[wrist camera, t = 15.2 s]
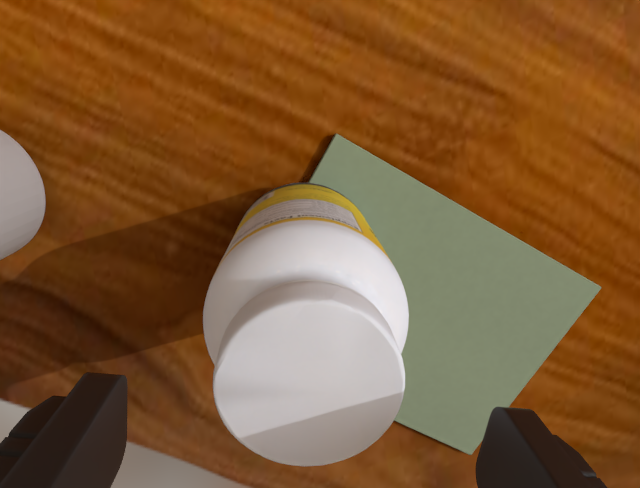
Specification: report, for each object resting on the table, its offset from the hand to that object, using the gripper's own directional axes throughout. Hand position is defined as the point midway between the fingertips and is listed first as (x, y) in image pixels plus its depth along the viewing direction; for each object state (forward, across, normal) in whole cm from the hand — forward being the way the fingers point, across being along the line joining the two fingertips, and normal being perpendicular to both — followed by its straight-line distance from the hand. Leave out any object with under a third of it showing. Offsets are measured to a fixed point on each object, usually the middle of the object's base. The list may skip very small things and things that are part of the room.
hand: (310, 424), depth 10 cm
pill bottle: (+13, 0, 0) cm, 13 cm away
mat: (+13, -6, +3) cm, 15 cm away
